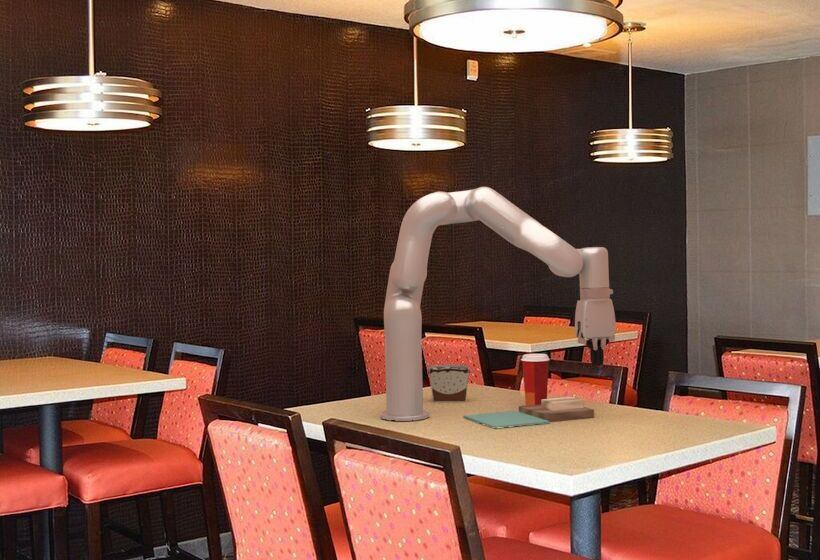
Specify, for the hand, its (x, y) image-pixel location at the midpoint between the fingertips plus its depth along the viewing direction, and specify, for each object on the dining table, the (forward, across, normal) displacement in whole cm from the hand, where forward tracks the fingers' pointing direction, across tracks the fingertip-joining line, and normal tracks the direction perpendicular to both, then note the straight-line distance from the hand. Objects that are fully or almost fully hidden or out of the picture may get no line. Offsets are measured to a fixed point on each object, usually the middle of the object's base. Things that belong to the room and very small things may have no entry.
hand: (597, 364), depth 271 cm
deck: (+12, +13, 0) cm, 18 cm away
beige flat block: (+9, +11, 0) cm, 14 cm away
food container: (+12, +26, -37) cm, 47 cm away
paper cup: (+12, +10, -16) cm, 23 cm away
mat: (+12, +27, 0) cm, 30 cm away
